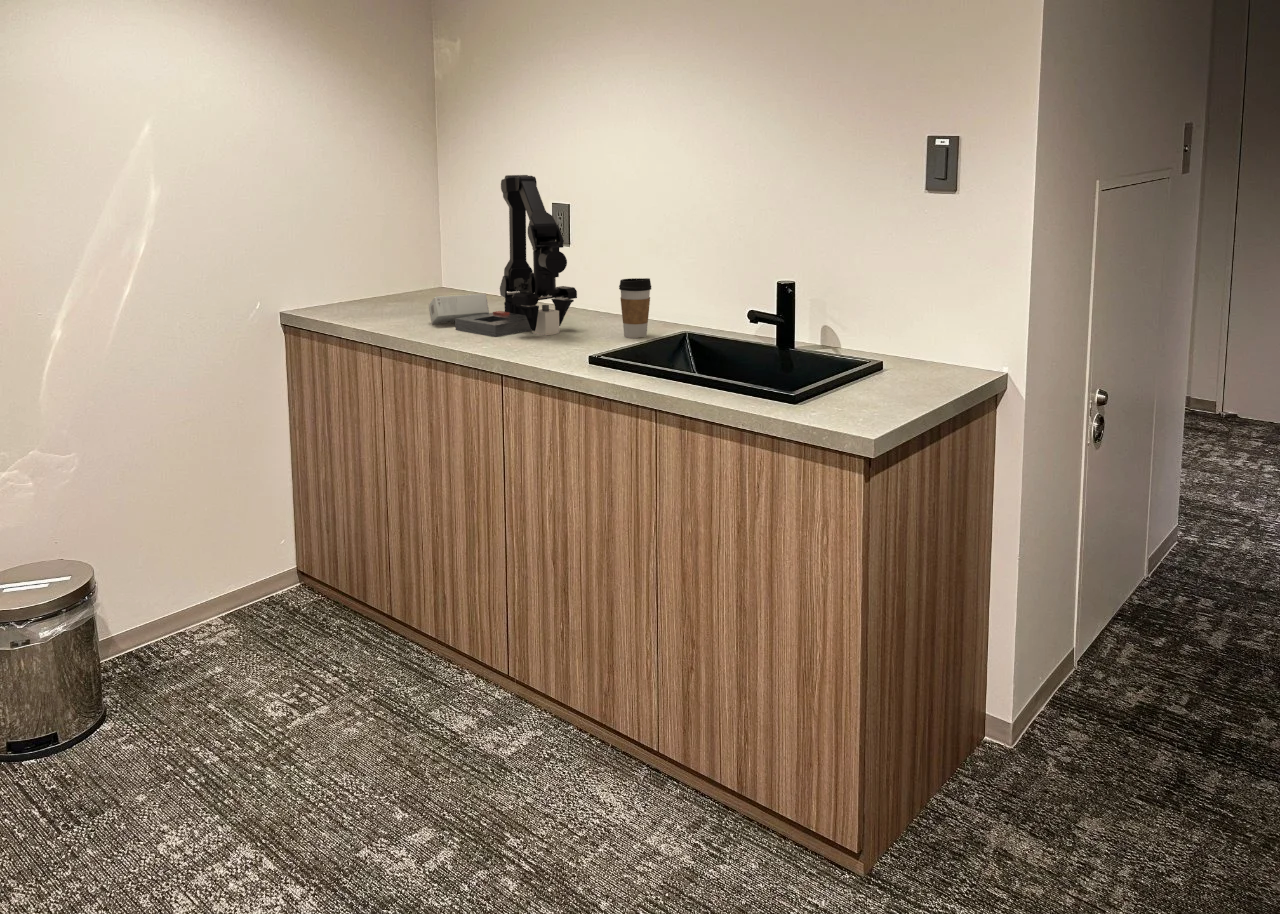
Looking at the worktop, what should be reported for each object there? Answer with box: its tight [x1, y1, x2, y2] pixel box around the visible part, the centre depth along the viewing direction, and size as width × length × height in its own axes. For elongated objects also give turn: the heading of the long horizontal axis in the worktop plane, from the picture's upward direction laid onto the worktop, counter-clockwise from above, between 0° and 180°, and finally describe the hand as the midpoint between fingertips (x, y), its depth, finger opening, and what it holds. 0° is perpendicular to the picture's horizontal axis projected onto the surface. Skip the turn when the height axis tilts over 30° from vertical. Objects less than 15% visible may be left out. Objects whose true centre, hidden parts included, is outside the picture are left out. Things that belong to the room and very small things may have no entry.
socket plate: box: [454, 310, 532, 338], centre depth 313 cm, size 16×16×4 cm
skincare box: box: [428, 293, 490, 325], centre depth 321 cm, size 8×6×15 cm
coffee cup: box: [618, 277, 652, 339], centre depth 301 cm, size 8×8×15 cm
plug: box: [532, 304, 560, 336], centre depth 307 cm, size 5×5×8 cm
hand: (545, 328), depth 307 cm, fingers open, 9 cm apart
